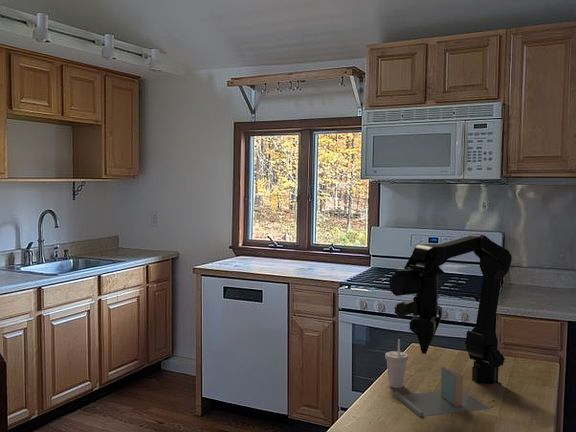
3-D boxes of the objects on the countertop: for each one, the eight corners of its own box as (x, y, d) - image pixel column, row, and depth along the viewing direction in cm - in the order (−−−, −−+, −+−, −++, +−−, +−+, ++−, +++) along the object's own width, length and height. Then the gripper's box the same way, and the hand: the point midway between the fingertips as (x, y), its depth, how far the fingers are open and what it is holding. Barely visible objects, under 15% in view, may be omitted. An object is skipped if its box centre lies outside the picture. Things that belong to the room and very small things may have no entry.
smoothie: (407, 393, 159) (408, 343, 158) (384, 391, 160) (384, 341, 159) (407, 384, 165) (408, 336, 164) (384, 383, 167) (385, 335, 166)
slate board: (459, 391, 160) (459, 385, 160) (490, 411, 147) (490, 404, 147) (394, 398, 155) (394, 392, 155) (419, 419, 142) (419, 412, 141)
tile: (447, 395, 155) (448, 366, 155) (462, 405, 149) (462, 375, 148) (440, 396, 155) (441, 367, 154) (454, 406, 148) (455, 375, 147)
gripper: (403, 283, 167) (403, 336, 168) (389, 297, 150) (389, 355, 151) (442, 285, 163) (442, 339, 164) (433, 300, 145) (433, 360, 147)
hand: (426, 348), depth 156 cm, fingers open, 9 cm apart
